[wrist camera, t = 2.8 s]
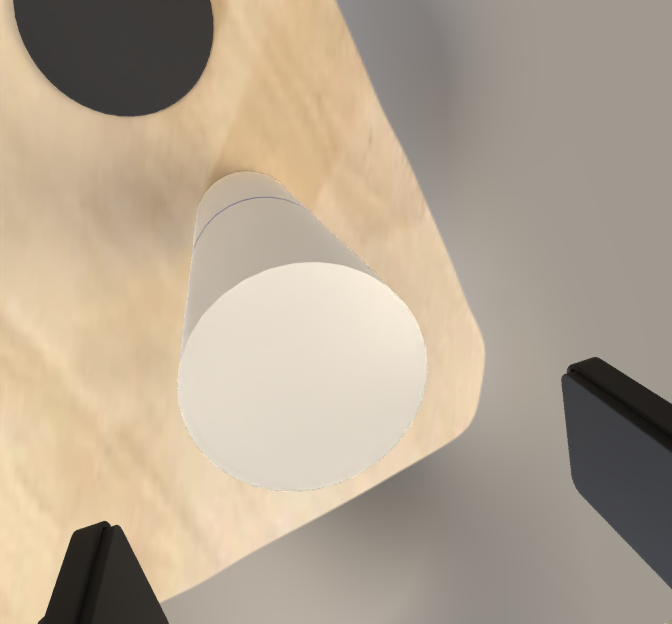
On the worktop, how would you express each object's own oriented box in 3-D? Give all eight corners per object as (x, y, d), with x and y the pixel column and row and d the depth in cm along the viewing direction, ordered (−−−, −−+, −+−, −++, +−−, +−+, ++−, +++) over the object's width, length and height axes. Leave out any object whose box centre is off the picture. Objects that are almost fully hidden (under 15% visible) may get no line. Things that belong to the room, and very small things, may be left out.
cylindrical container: (294, 165, 38) (423, 244, 15) (305, 266, 41) (431, 465, 18) (187, 177, 37) (152, 282, 14) (205, 280, 40) (201, 513, 17)
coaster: (53, 130, 35) (50, 130, 34) (-15, -80, 31) (-19, -83, 30) (230, 100, 36) (230, 100, 36) (188, -103, 32) (187, -106, 32)
